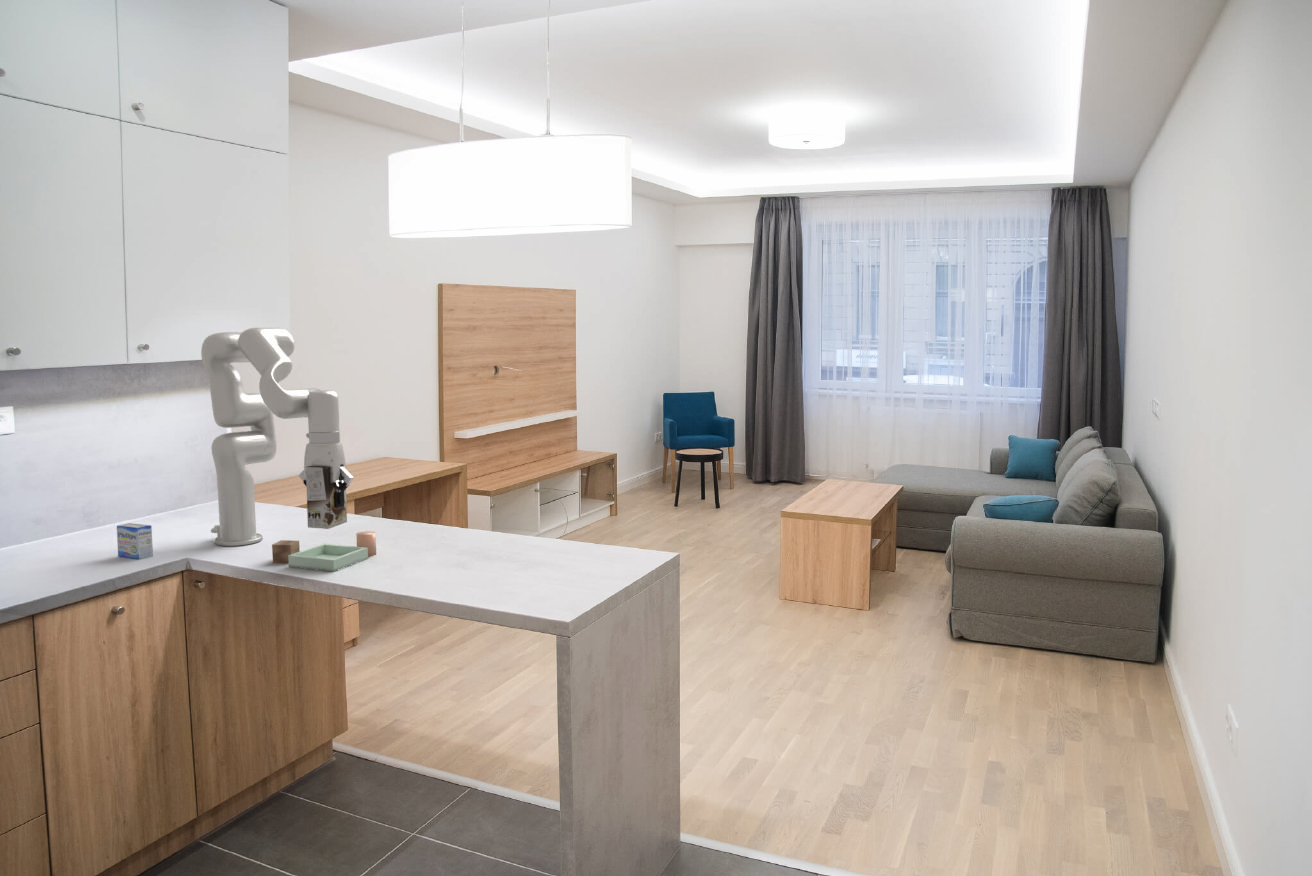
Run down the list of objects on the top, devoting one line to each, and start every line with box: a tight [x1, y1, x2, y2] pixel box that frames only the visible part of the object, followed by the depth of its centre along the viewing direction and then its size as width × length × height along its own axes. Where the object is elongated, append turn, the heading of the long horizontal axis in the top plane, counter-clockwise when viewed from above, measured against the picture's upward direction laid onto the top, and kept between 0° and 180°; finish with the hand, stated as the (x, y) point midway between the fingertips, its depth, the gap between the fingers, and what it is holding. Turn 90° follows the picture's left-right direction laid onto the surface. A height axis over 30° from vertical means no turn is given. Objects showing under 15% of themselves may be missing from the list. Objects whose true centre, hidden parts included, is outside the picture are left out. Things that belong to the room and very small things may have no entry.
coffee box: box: [305, 466, 348, 530], centre depth 236 cm, size 9×6×16 cm
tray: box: [288, 543, 369, 572], centre depth 238 cm, size 14×14×3 cm
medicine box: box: [116, 522, 154, 560], centre depth 243 cm, size 8×4×9 cm, turn 70°
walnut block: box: [271, 539, 301, 564], centre depth 239 cm, size 5×5×5 cm
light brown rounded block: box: [356, 530, 377, 558], centre depth 246 cm, size 5×5×6 cm
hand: (327, 505), depth 236 cm, fingers closed on coffee box, 6 cm apart
